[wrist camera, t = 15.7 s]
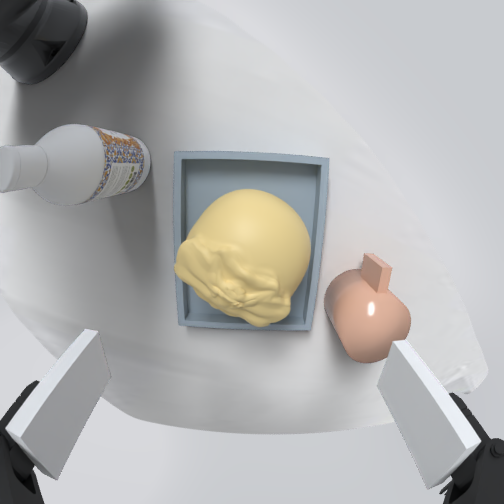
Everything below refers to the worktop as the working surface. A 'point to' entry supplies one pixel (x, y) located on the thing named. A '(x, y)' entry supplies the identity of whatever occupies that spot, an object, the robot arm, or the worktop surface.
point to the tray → (259, 178)
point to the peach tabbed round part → (366, 311)
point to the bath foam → (75, 165)
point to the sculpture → (246, 256)
